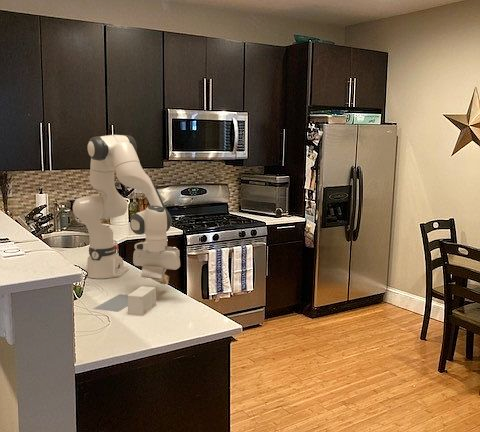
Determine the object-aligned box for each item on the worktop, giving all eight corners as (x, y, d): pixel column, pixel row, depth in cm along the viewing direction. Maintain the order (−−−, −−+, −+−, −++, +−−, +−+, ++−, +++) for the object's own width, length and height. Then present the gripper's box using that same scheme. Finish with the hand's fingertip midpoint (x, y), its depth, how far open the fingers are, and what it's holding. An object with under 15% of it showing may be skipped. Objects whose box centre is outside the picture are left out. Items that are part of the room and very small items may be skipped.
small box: (141, 285, 210) (127, 295, 197) (156, 287, 208) (142, 296, 196) (141, 305, 211) (127, 315, 198) (156, 306, 210) (143, 317, 197)
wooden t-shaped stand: (155, 283, 227) (157, 273, 229) (174, 285, 225) (176, 275, 226) (140, 276, 213) (142, 265, 214) (161, 278, 211) (163, 267, 212)
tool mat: (119, 295, 223) (119, 294, 223) (142, 298, 220) (142, 296, 220) (93, 310, 204) (93, 308, 204) (118, 313, 201) (118, 311, 201)
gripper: (182, 245, 215) (182, 278, 217) (138, 241, 221) (138, 273, 224) (176, 249, 209) (176, 282, 211) (130, 244, 215) (131, 277, 218)
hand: (156, 277), depth 218 cm, fingers closed on wooden t-shaped stand, 3 cm apart
